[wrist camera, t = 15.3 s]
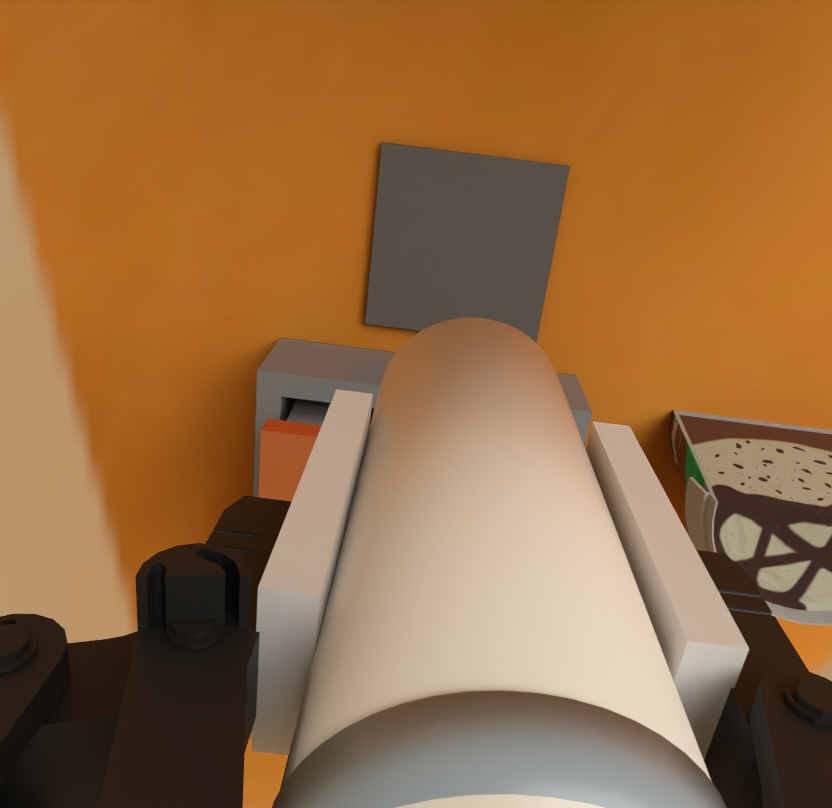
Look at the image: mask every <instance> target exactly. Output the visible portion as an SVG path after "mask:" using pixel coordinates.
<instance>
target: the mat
mask: <svg viewBox="0 0 832 808" xmlns="http://www.w3.org/2000/svg"><path fill="white" fill-rule="evenodd" d="M568 172H569V166H565V165H557V164H549V163H541V162H533V161H526V160H518V159H510V158H502V157H494V156H486V155H478V154H470V153H463V152H455V151H447V150H439V149H431V148H423V147H415V146H407V145H400V144H392V143H384V142H382V146H381V157H380V168H379V178H378V189H377V200H376V211H375V222H374V232H373V243H372V254H371V265H370V275H369V286H368V297H367V308H366V318H365V324H371V325H379V326H386V327H394V328H402V329H410V330H418V331H422V330H424V329H426V328H428V327H430V326H432V325H434V324H437V323H440V322H443V321H446V320H452V319H457V318H469V317H472V318H485V319H490V320H495V321H499V322H502V323H505V324H508V325H510V326H512V327H514V328H516V329H518V330H520V331H521V332H523V333H524V334H526V335H527V336H529V337H530V338H531V339H532V340H533V341H535V342H536V340H537V335H538V329H539V324H540V319H541V314H542V309H543V303H544V298H545V293H546V288H547V282H548V277H549V272H550V267H551V261H552V256H553V251H554V246H555V240H556V235H557V230H558V225H559V219H560V214H561V209H562V204H563V198H564V193H565V188H566V183H567V178H568Z"/></svg>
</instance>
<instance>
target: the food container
mask: <svg viewBox="0 0 832 808" xmlns="http://www.w3.org/2000/svg"><path fill="white" fill-rule="evenodd" d="M669 432H670V439H671V447H672V454H673V456H674V459H675V462H676V464H677V467H678V469H679V472H680V474H681V477H682V479H683V482H684V485H685V487H686V494H685V518H686V524H687V530H688V534H689V536H690V539H691V541H692V543H693V545H694V547H695V549H696V550H701V551H709V552H717V553H725V554H726V555H727V556H728V557H729V558H730V559H732V560H733V561H734V562H735V563H736V564H738V565H739V566H740V567H741V568H742V569H743V570H745V571H746V572H747V573H748V574H749V576H750V577H751V579H752V581H753V582H754V584H755V585H756V587H757V589H758V590H759V592H760V594H761V598H763V599H764V600H765V602H766V603H767V605H768V606H769V608H770V610H771V611H772V616H775V617H778V618H781V619H784V620H787V621H791V622H797V623H802V624H809V625H825V626H826V625H832V430H824V429H817V428H809V427H801V426H793V425H785V424H778V423H770V422H762V421H754V420H746V419H739V418H731V417H723V416H715V415H707V414H700V413H692V412H684V411H676V410H673V411H672V417H671V422H670V428H669Z"/></svg>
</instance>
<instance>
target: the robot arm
mask: <svg viewBox="0 0 832 808" xmlns="http://www.w3.org/2000/svg"><path fill="white" fill-rule="evenodd" d="M372 398H373V394H370V393H362V392H354V391H346V390H338V389H336V391H335V394H334V396H333V399H332V401H331V404H330V406H329V409H328V411H327V414H326V416H325V419H324V421H323V424H322V426H321V429H320V432H319V434H318V437H317V439H316V442H315V444H314V447H313V449H312V452H311V454H310V457H309V459H308V462H307V464H306V467H305V470H304V472H303V475H302V477H301V480H300V482H299V485H298V487H297V490H296V492H295V495H294V497H293V500H292V501H284V500H276V499H268V498H260V497H252V496H244V497H242V498H241V499H240V500H238V501H237V502H235V503H234V504H232V505H231V506H229V507H228V508H227V509H225V510H224V511H223V513H222V515H221V517H220V519H219V521H218V522H217V524H216V526H215V528H214V532H212V533H211V535H210V537H209V539H208V541H207V542H206V544H201V543H197V544H188V545H179V546H175V547H172V548H170V549H167V550H164V551H161V552H158V553H157V554H155V555H154V556H153V557H151V558H150V559H148V560H147V561H146V562H144V563H143V565H142V566H141V568H140V570H139V571H138V573H137V575H136V595H137V620H138V631H137V632H134V633H131V634H128V635H125V636H121V637H116V638H110V639H104V640H95V641H87V642H77V643H67V639H66V634H65V630H64V629H63V628H62V627H61V626H60V625H59V624H58V623H57V622H55V621H54V620H53V619H50V618H46V617H43V616H40V615H36V614H11V615H6V616H2V617H0V808H242V806H243V776H244V753H245V750H246V747H247V743H248V740H249V737H250V734H251V731H252V751H260V752H268V753H276V754H284V755H289V752H290V748H291V744H292V740H293V736H294V732H295V728H296V724H297V720H298V716H299V712H300V707H301V703H302V699H303V695H304V691H305V687H306V683H307V679H308V675H309V671H310V667H311V663H312V660H313V657H314V654H315V651H316V647H317V643H318V639H319V635H320V630H321V626H322V622H323V618H324V614H325V610H326V606H327V602H328V598H329V594H330V590H331V586H332V582H333V578H334V574H335V569H336V565H337V561H338V557H339V553H340V549H341V545H342V541H343V537H344V533H345V529H346V525H347V521H348V517H349V512H350V508H351V504H352V500H353V496H354V492H355V488H356V484H357V480H358V476H359V472H360V468H361V464H362V460H363V455H364V451H365V447H366V443H367V439H368V435H369V427H370V418H371V408H372ZM586 452H587V454H588V457H589V460H590V462H591V465H592V468H593V470H594V473H595V475H596V478H597V481H598V483H599V486H600V489H601V491H602V494H603V497H604V499H605V502H606V504H607V507H608V510H609V512H610V515H611V518H612V520H613V523H614V526H615V528H616V531H617V533H618V536H619V539H620V541H621V544H622V547H623V549H624V552H625V554H626V557H627V560H628V562H629V565H630V568H631V570H632V573H633V576H634V578H635V581H636V583H637V586H638V589H639V591H640V594H641V597H642V599H643V602H644V604H645V607H646V610H647V612H648V615H649V618H650V620H651V623H652V626H653V628H654V631H655V633H656V636H657V639H658V641H659V644H660V647H661V649H662V652H663V655H664V657H665V660H666V662H667V665H668V668H669V670H670V673H671V676H672V678H673V681H674V683H675V686H676V689H677V691H678V694H679V697H680V699H681V702H682V705H683V707H684V710H685V712H686V715H687V718H688V720H689V723H690V726H691V728H692V731H693V733H694V736H695V739H696V741H697V744H698V747H699V749H700V752H701V755H702V757H703V760H704V762H705V765H706V768H707V770H708V773H709V776H710V778H711V781H712V783H713V785H714V786H715V787H716V789H717V790H718V791H719V793H720V795H721V797H722V799H723V801H724V803H725V805H726V807H727V808H832V682H831V681H830V680H828V679H826V678H824V677H821V676H819V675H816V674H813V673H811V672H809V671H808V669H807V668H806V666H805V664H804V663H803V661H802V660H801V658H800V656H799V655H798V653H797V652H796V650H795V648H794V647H793V645H792V643H791V642H790V640H789V639H788V637H787V635H786V634H785V632H784V631H783V629H782V627H781V626H780V624H779V623H778V621H777V619H776V618H775V616H772V611H771V610H770V608H769V606H768V605H767V603H766V602H765V600H764V599H763V598H761V594H760V592H759V590H758V589H757V587H756V585H755V584H754V582H753V581H752V579H751V577H750V576H749V574H748V573H747V572H746V571H745V570H743V569H742V568H741V567H740V566H739V565H738V564H736V563H735V562H734V561H733V560H732V559H730V558H729V557H728V556H727V555H726V554H725V553H717V552H709V551H701V550H696V549H695V547H694V545H693V543H692V541H691V539H690V538H689V536H688V534H687V532H686V530H685V528H684V526H683V525H682V523H681V521H680V519H679V517H678V515H677V513H676V512H675V510H674V508H673V506H672V504H671V502H670V500H669V499H668V497H667V495H666V493H665V491H664V489H663V487H662V486H661V484H660V482H659V480H658V478H657V476H656V474H655V473H654V471H653V469H652V467H651V465H650V463H649V461H648V460H647V458H646V456H645V454H644V452H643V450H642V448H641V447H640V445H639V443H638V441H637V439H636V437H635V435H634V434H633V432H632V430H631V428H630V426H625V425H617V424H609V423H601V422H593V423H592V427H591V431H590V436H589V440H588V444H587V449H586Z"/></svg>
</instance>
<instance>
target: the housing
mask: <svg viewBox="0 0 832 808" xmlns="http://www.w3.org/2000/svg"><path fill="white" fill-rule="evenodd" d="M395 353H396V352H388V351H380V350H372V349H365V348H357V347H349V346H341V345H333V344H325V343H317V342H309V341H301V340H293V339H285V338H280V339H279V340H278V342H277V343H276V344H275V346H274V347H273V349H272V350H271V351H270V353H269V354H268V356H267V357H266V358H265V360H264V361H263V363H262V364H261V365H260V367H259V368H258V370H257V390H256V420H255V450H254V480H253V497H259V472H260V445H261V429H262V427H263V426H264V424H265V422H266V420H267V419H275V420H283V421H286V420H287V419H288V417H289V415H290V413H291V411H292V409H293V407H294V405H295V403H296V401H297V399H305V400H313V401H320V402H328V403H331V401H332V399H333V396H334V394H335V391H336V389H338V390H346V391H354V392H362V393H370V394H373V398H372V408H371V418H370V425H371V421H372V417H373V413H374V409H375V404H376V400H377V396H378V392H379V388H380V384H381V381H382V378H383V375H384V372H385V370H386V368H387V366H388V364H389V362H390V361H391V359H392V358H393V356H394V355H395ZM557 375H558V378H559V381H560V383H561V386H562V389H563V391H564V394H565V396H566V399H567V402H568V404H569V407H570V410H571V412H572V415H573V418H574V420H575V423H576V425H577V428H578V431H579V433H580V436H581V439H582V441H583V444H584V445H585V441H586V437H587V432H588V428H589V424H590V419H591V415H592V411H591V409H590V406H589V404H588V402H587V399H586V397H585V395H584V393H583V390H582V388H581V386H580V384H579V381H578V379H577V377H576V375H571V374H563V373H557ZM369 429H370V427H369Z"/></svg>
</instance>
